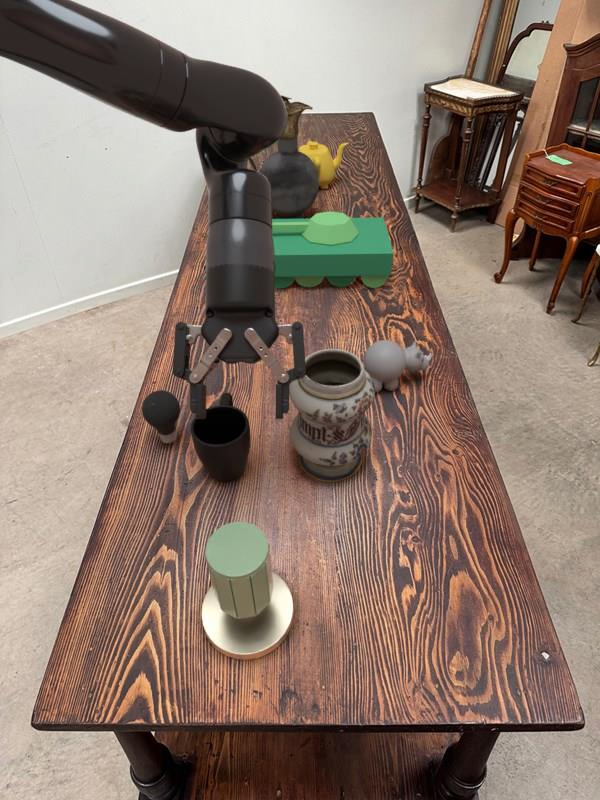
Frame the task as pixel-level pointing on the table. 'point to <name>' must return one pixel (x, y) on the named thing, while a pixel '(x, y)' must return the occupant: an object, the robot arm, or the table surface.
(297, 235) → the toy tank
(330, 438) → the apothecary jar
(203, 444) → the mug
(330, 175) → the teapot
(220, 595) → the green grooved cylinder
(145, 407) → the light bulb
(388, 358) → the chubby cartoon animal
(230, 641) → the towel holder
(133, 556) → the table surface
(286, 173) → the pitcher
